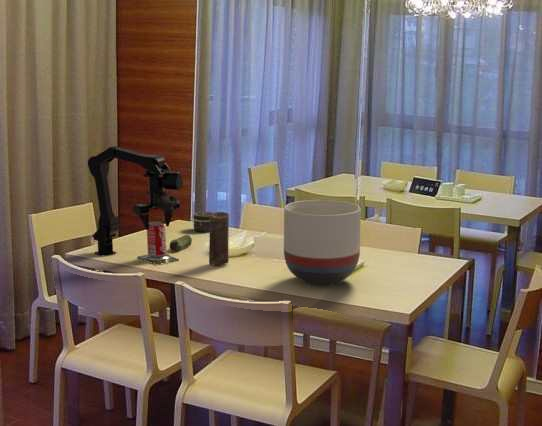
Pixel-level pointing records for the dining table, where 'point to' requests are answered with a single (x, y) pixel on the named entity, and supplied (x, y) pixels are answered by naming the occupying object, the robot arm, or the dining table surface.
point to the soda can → (156, 239)
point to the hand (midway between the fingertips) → (157, 228)
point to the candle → (218, 238)
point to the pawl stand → (158, 259)
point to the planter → (322, 240)
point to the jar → (202, 222)
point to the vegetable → (180, 243)
